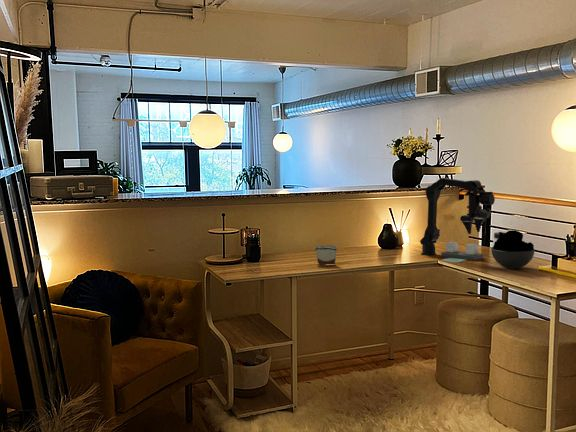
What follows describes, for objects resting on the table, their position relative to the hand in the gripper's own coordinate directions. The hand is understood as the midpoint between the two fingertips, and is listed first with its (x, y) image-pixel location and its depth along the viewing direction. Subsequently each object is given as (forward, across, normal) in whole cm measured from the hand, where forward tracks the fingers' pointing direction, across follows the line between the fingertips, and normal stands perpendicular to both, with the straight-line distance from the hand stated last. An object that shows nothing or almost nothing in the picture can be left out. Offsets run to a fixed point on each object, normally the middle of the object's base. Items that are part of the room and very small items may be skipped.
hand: (473, 233), depth 302 cm
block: (+15, +2, +14) cm, 21 cm away
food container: (+15, -57, +54) cm, 80 cm away
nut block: (+15, +2, +2) cm, 15 cm away
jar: (+15, +24, -4) cm, 28 cm away
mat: (+15, -8, +7) cm, 18 cm away
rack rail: (+15, +2, +8) cm, 17 cm away
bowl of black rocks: (+15, -9, -26) cm, 31 cm away
